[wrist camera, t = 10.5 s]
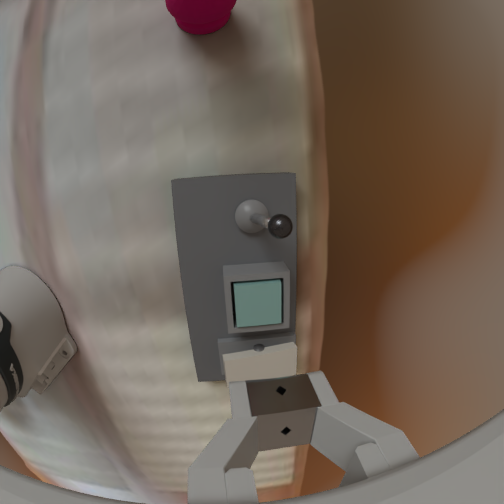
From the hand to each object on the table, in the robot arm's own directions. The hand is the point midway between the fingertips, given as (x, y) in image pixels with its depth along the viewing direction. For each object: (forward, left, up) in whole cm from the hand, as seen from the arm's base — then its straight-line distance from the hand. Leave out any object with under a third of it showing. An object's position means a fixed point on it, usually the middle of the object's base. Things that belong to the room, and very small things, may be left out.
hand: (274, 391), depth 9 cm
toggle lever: (+3, 0, -20) cm, 20 cm away
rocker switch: (-10, -10, -19) cm, 24 cm away
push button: (-4, -5, -21) cm, 22 cm away
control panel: (-5, -4, -24) cm, 25 cm away
